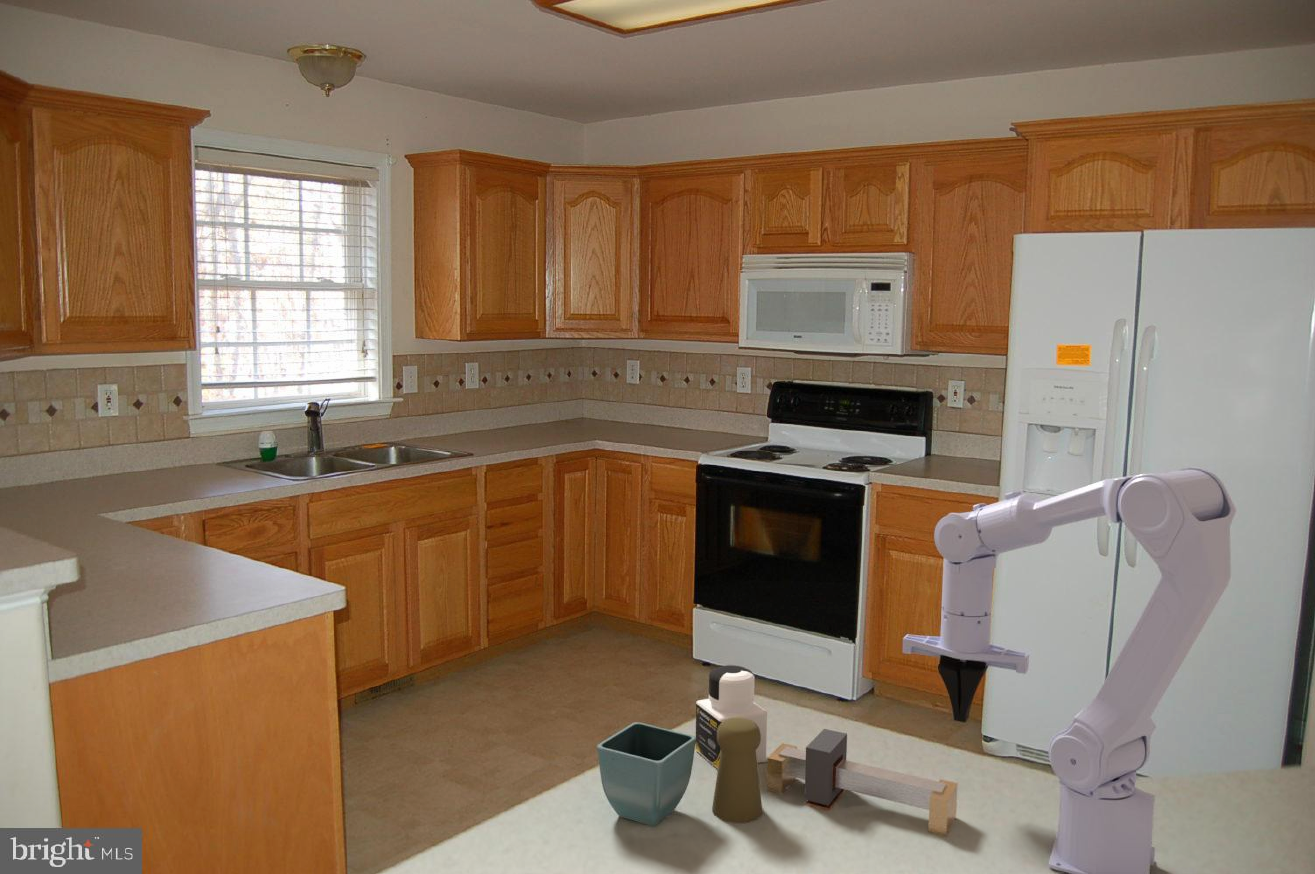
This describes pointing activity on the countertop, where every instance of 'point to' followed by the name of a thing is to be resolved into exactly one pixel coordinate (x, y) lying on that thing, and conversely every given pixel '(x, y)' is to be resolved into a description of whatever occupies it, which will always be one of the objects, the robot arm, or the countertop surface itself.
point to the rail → (870, 785)
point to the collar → (823, 765)
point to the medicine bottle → (728, 710)
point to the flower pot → (646, 771)
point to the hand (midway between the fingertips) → (961, 718)
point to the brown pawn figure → (738, 772)
